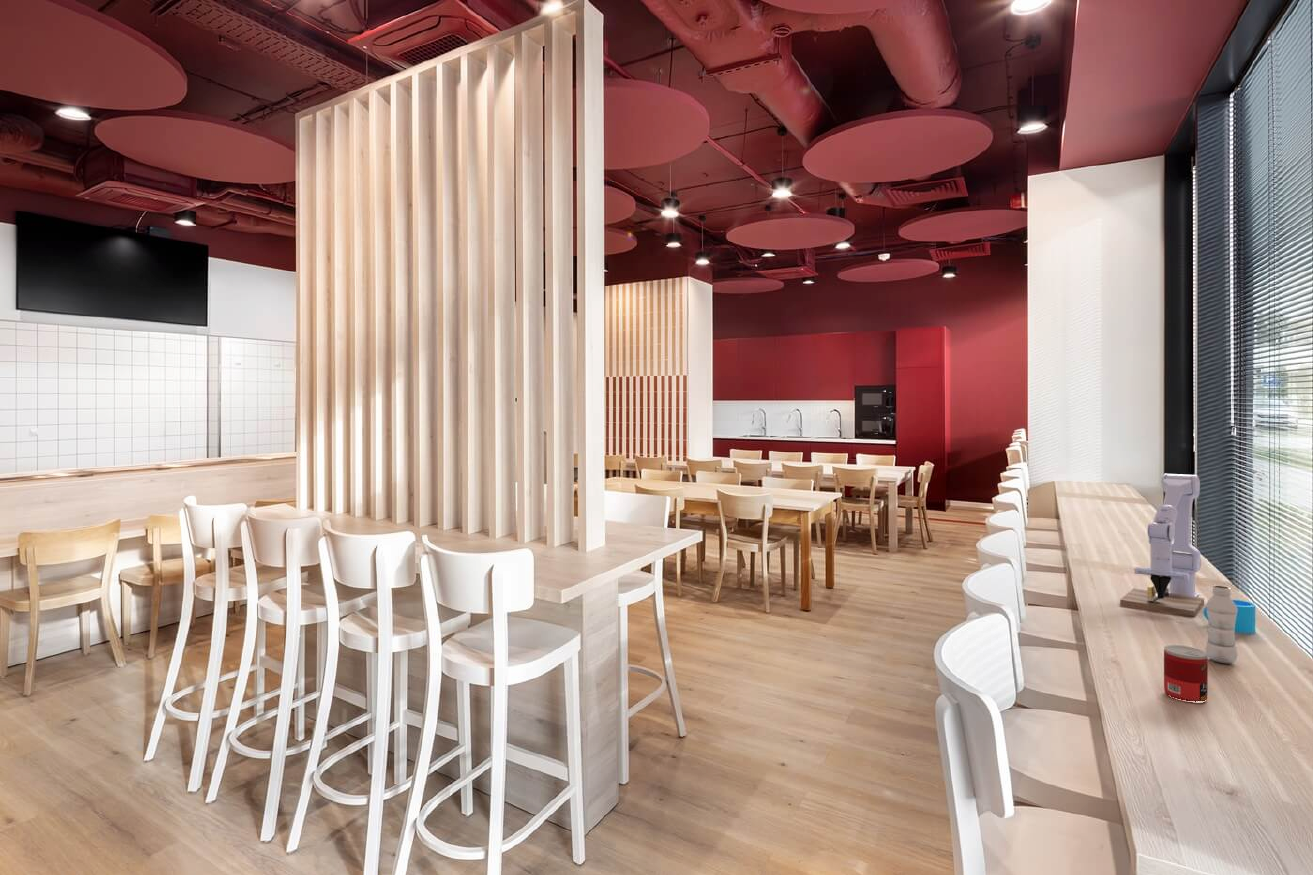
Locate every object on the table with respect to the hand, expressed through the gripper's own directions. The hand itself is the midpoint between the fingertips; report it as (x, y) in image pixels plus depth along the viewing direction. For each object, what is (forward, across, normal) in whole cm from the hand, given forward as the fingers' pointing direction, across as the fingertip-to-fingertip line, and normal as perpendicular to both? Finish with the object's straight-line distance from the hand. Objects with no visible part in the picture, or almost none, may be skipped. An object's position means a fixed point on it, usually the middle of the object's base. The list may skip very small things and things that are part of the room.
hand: (1161, 597), depth 222 cm
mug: (+4, +19, -12) cm, 22 cm away
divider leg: (+1, -2, +5) cm, 5 cm away
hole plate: (+3, 0, +4) cm, 6 cm away
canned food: (+4, +18, -81) cm, 83 cm away
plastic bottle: (+4, +21, -48) cm, 52 cm away
